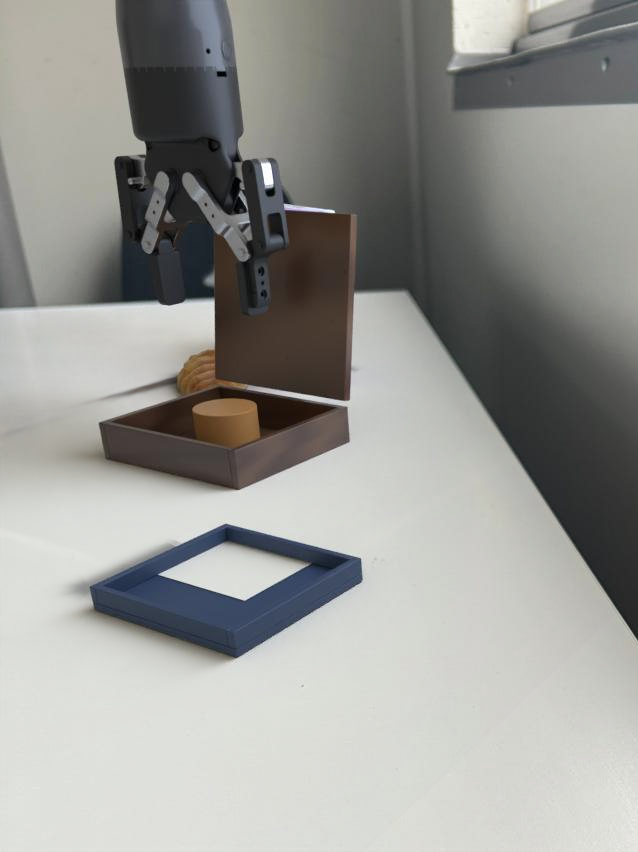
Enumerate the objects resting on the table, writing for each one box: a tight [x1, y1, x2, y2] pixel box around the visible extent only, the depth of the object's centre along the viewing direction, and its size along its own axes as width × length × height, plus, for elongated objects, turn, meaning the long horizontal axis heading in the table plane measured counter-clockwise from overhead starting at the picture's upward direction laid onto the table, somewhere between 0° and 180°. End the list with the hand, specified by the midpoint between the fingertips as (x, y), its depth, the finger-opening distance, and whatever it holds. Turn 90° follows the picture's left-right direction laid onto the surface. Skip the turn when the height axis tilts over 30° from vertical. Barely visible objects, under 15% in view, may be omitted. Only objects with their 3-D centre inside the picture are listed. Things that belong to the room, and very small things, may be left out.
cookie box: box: [98, 385, 351, 491], centre depth 82 cm, size 13×14×4 cm
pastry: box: [176, 349, 249, 396], centre depth 97 cm, size 9×7×4 cm
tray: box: [89, 523, 364, 658], centre depth 60 cm, size 11×11×2 cm
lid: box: [213, 210, 358, 402], centre depth 85 cm, size 14×14×5 cm
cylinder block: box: [192, 399, 260, 448], centre depth 82 cm, size 5×5×4 cm
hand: (213, 308), depth 77 cm, fingers open, 8 cm apart
